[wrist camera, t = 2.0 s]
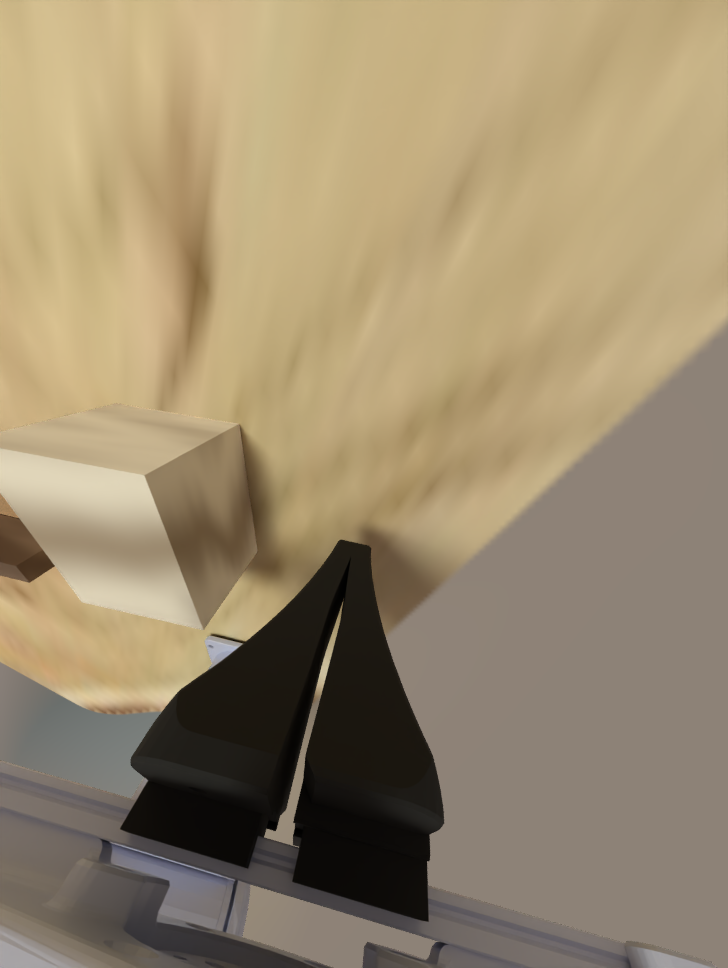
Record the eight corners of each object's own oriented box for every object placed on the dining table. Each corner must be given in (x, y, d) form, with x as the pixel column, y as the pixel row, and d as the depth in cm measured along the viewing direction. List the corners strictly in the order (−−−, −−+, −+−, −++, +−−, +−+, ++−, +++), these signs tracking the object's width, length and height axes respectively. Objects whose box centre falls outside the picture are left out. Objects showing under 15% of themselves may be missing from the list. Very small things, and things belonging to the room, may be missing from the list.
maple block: (258, 549, 16) (203, 630, 12) (167, 531, 16) (82, 602, 12) (241, 422, 12) (144, 475, 7) (119, 402, 12) (-39, 441, 8)
